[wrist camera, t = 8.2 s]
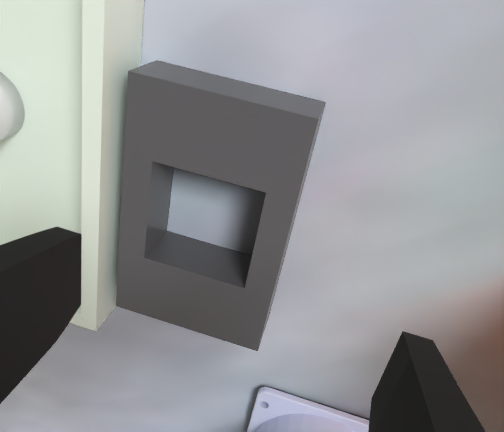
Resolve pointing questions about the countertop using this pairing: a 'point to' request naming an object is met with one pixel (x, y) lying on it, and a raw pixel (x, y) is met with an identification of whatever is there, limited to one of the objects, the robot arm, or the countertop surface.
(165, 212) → the fuse holder
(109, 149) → the parts tray
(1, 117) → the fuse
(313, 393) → the countertop surface
